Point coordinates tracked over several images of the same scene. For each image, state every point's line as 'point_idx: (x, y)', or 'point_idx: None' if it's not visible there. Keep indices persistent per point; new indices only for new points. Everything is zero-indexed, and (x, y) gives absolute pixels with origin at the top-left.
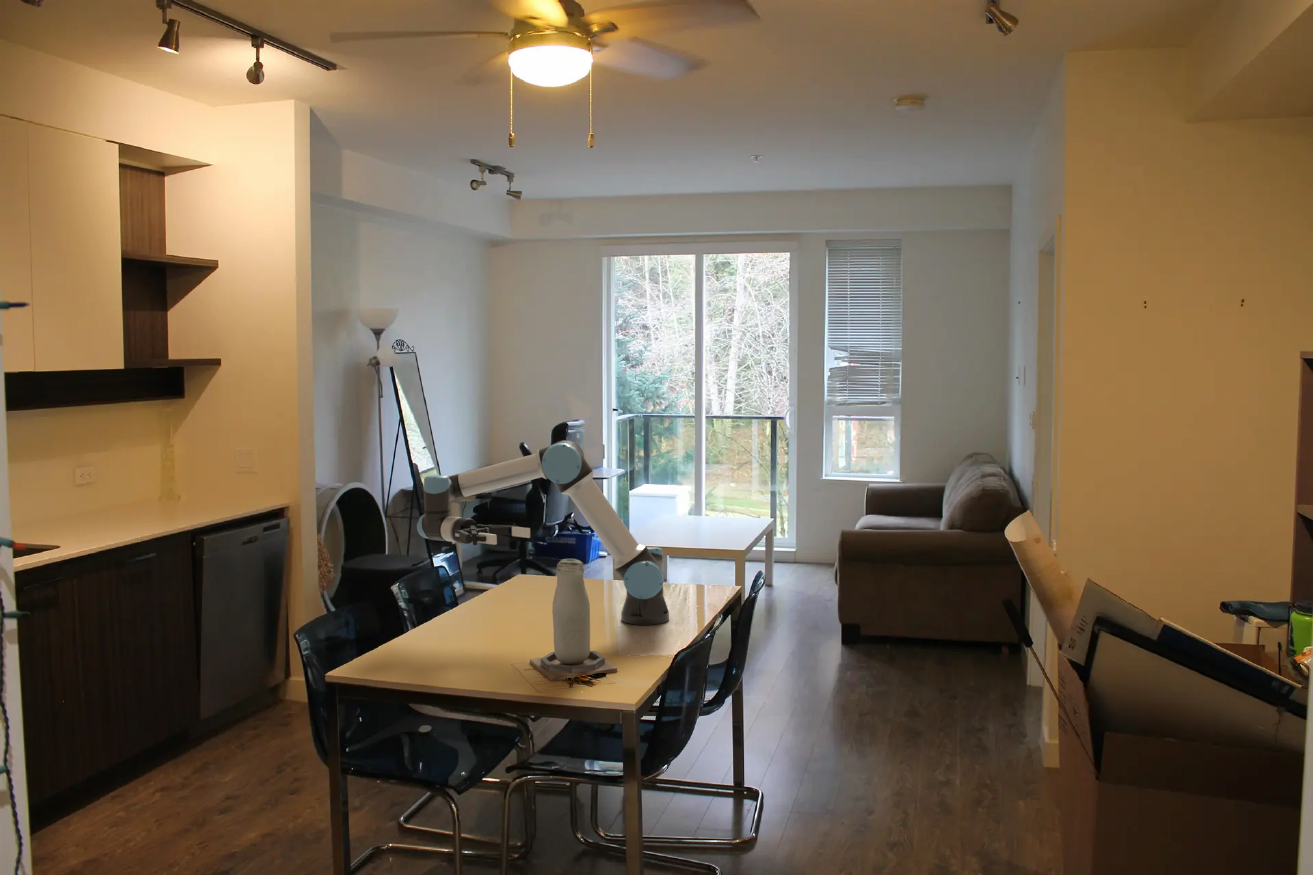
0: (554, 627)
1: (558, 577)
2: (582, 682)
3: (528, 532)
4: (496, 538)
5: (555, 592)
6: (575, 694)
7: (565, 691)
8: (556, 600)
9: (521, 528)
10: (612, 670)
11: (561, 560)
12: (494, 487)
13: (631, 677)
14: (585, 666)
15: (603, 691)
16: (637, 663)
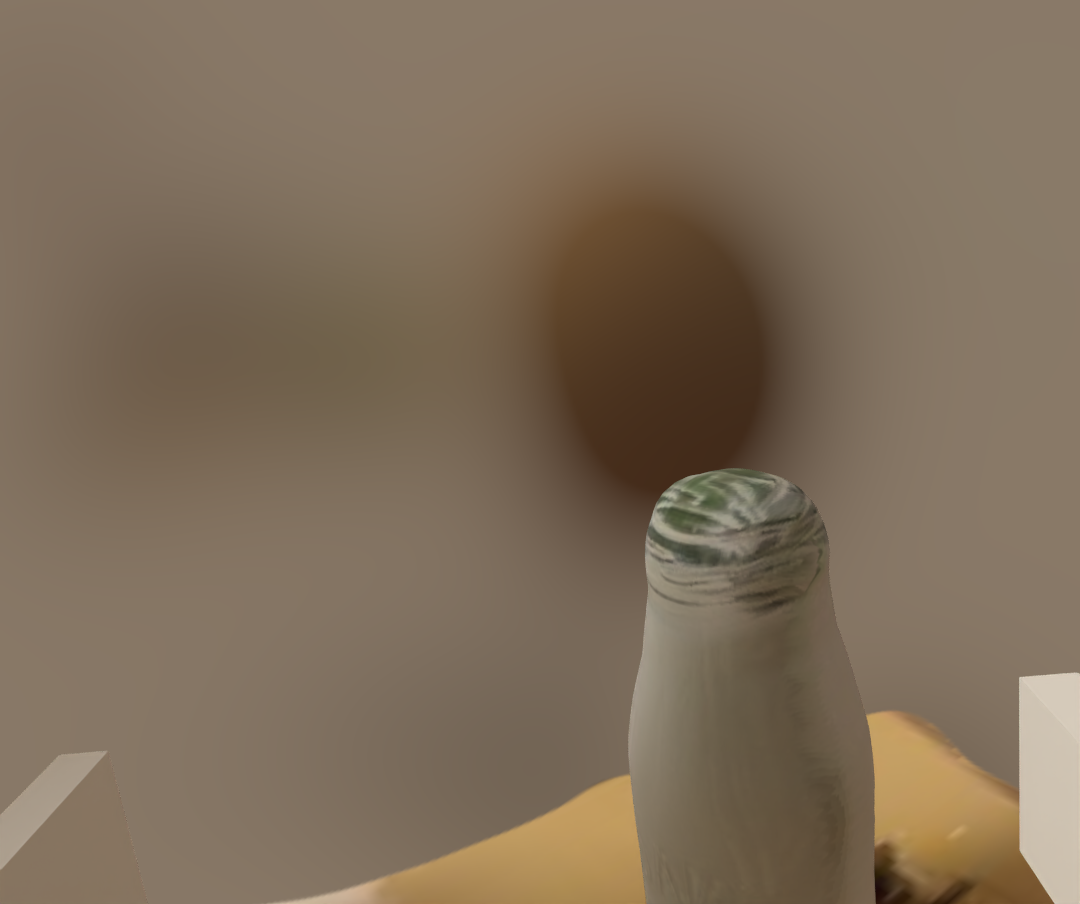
0: (870, 866)
1: (826, 577)
2: (886, 889)
3: (123, 819)
4: (1026, 746)
5: (832, 688)
6: (999, 830)
7: (1016, 868)
8: (860, 702)
9: (4, 886)
10: None
11: (773, 490)
12: None
13: None
14: None
15: (887, 795)
16: (533, 890)
